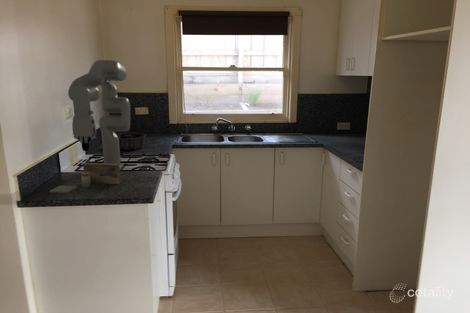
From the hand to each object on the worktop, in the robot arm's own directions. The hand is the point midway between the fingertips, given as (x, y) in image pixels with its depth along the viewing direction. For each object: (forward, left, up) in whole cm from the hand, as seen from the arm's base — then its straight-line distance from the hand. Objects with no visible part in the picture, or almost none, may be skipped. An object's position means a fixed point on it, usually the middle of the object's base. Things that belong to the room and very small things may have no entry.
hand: (85, 150), depth 179 cm
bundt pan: (-97, -20, -19) cm, 101 cm away
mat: (+7, -10, -19) cm, 22 cm away
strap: (0, +10, -11) cm, 15 cm away
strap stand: (-7, +3, -19) cm, 20 cm away
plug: (0, -2, -19) cm, 19 cm away
